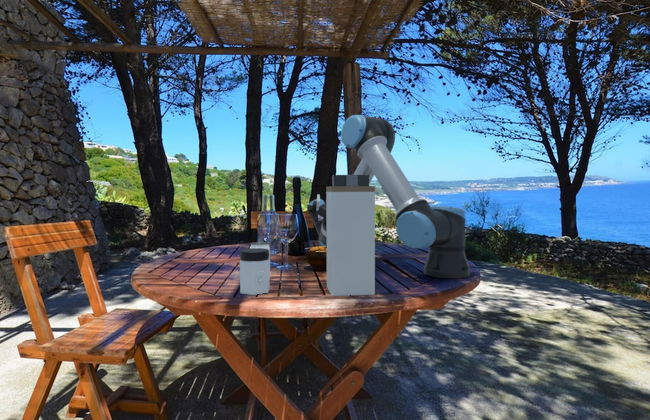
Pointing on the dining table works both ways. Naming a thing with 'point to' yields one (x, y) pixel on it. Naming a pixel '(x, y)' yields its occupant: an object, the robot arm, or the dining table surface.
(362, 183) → the t handle
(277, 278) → the dining table surface
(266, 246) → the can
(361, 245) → the stand
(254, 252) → the jar
